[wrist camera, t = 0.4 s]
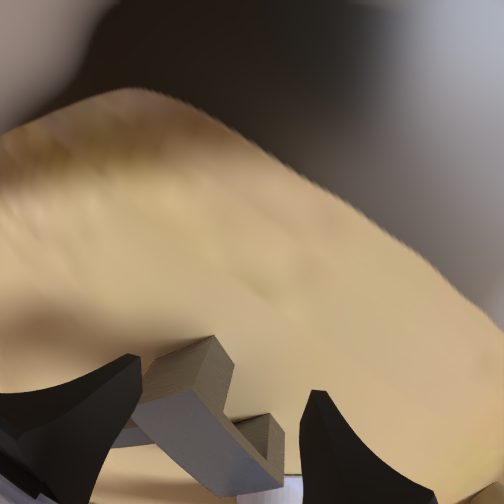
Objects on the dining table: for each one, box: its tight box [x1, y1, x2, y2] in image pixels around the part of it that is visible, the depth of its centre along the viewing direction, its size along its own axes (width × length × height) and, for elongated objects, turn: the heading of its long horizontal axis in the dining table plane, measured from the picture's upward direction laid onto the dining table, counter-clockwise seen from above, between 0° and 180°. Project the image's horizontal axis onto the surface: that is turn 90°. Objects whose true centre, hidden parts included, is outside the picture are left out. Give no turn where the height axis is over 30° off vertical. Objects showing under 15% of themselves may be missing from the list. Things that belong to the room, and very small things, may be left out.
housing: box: [131, 335, 285, 498], centre depth 20 cm, size 6×12×6 cm, turn 29°
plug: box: [111, 417, 155, 448], centre depth 23 cm, size 16×4×4 cm, turn 119°
